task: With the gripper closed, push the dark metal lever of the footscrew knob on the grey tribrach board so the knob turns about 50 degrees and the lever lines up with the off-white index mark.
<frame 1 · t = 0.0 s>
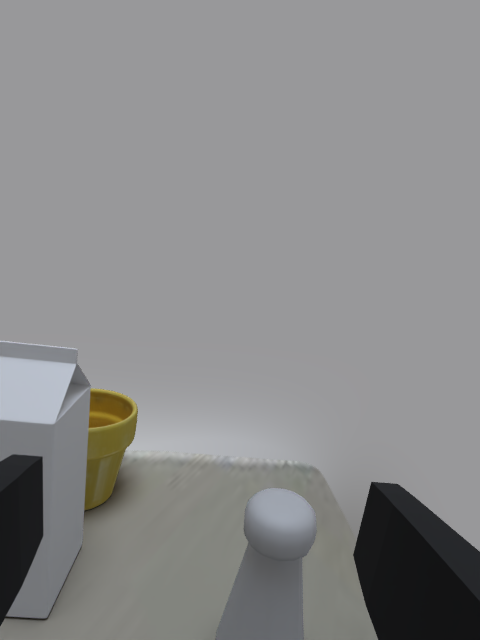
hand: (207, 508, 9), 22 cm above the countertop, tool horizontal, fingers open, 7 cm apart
milk carton: (21, 578, 31), on the countertop
plant pot: (81, 493, 42), on the countertop
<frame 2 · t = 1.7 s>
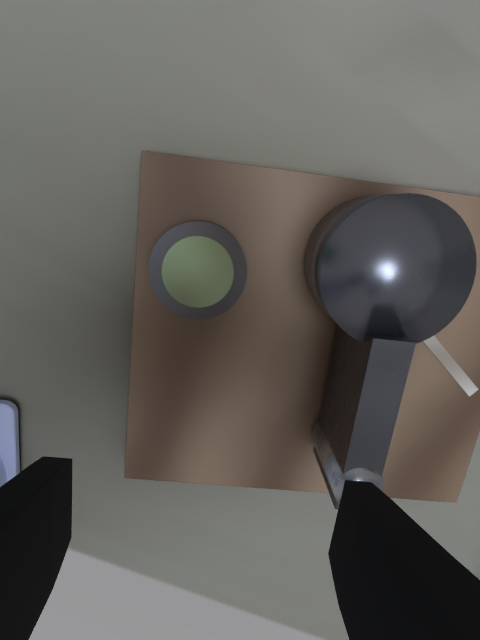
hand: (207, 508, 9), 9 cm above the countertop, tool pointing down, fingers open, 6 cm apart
tribrach board: (316, 344, 18), on the countertop
footscrew knob: (367, 350, 15), point 3 cm above the countertop, hinge at 0.0°
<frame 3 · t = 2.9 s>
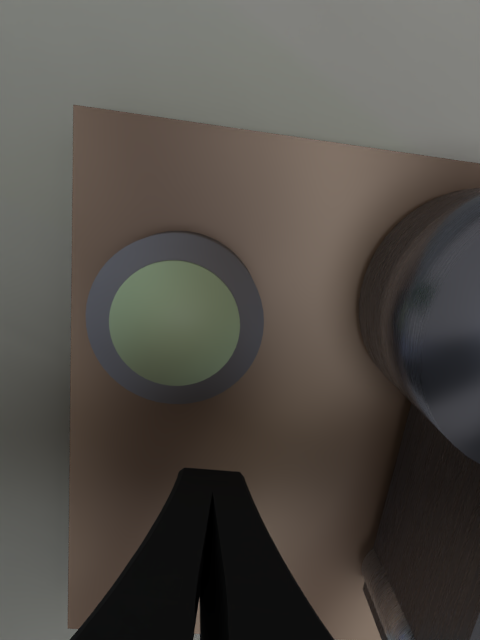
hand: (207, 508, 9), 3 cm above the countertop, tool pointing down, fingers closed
tribrach board: (367, 422, 11), on the countertop
footscrew knob: (478, 461, 8), point 3 cm above the countertop, hinge at 0.0°
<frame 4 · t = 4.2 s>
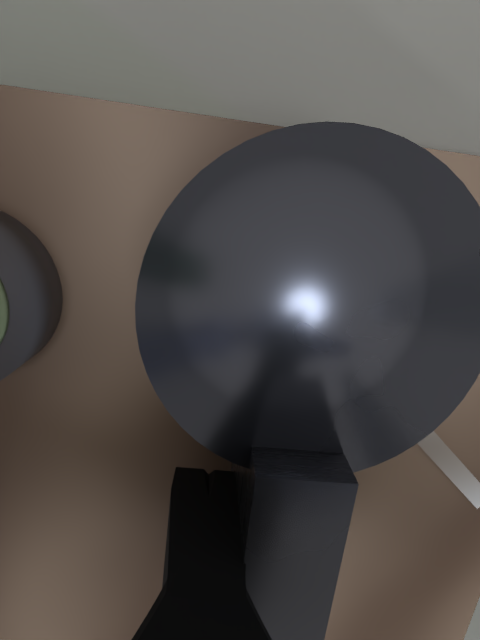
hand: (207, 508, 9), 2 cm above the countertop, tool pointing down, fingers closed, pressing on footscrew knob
tribrach board: (218, 416, 11), on the countertop
footscrew knob: (279, 460, 7), point 3 cm above the countertop, hinge at 1.1°, touching gripper
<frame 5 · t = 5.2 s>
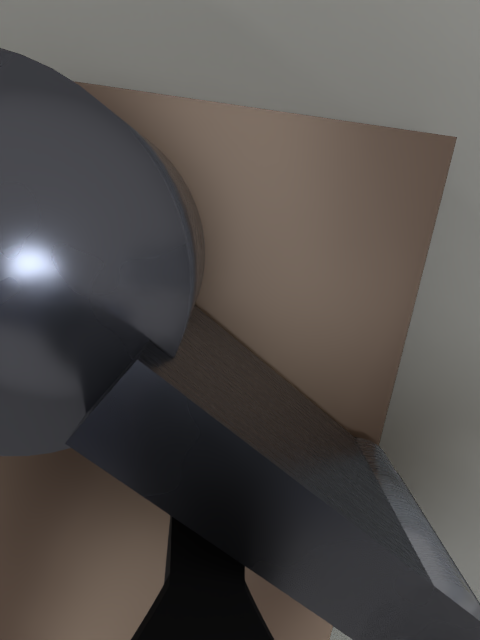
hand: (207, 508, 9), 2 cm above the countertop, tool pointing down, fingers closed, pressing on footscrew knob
tribrach board: (53, 399, 10), on the countertop
footscrew knob: (185, 384, 6), point 3 cm above the countertop, hinge at 55.8°, touching gripper
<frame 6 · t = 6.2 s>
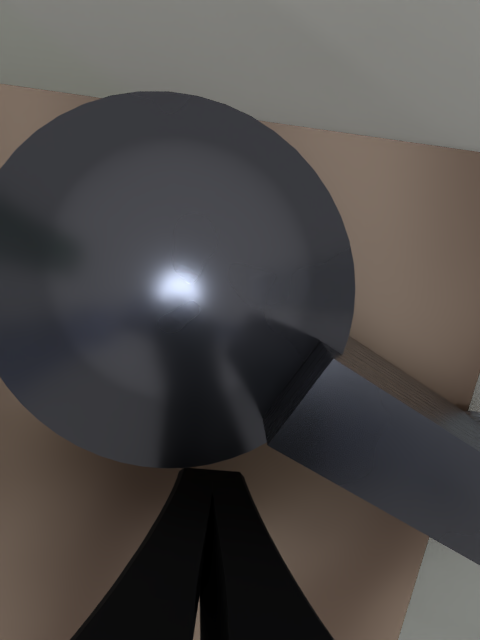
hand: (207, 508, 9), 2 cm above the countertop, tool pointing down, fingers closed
tribrach board: (139, 410, 10), on the countertop
footscrew knob: (326, 380, 7), point 3 cm above the countertop, hinge at 63.5°
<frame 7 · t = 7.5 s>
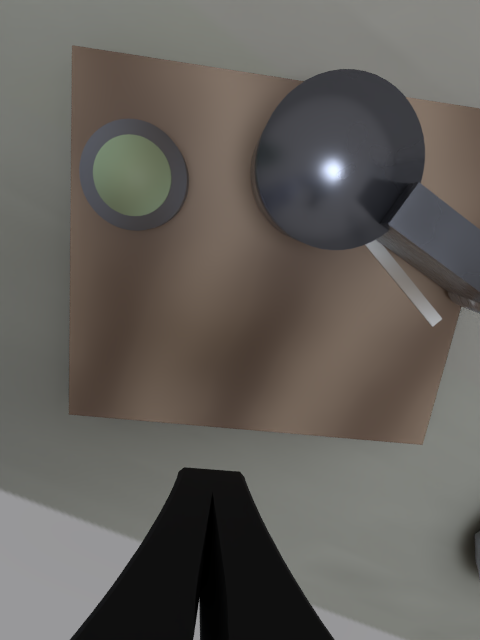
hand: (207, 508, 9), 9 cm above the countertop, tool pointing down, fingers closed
tribrach board: (271, 272, 17), on the countertop
footscrew knob: (401, 221, 13), point 3 cm above the countertop, hinge at 63.6°
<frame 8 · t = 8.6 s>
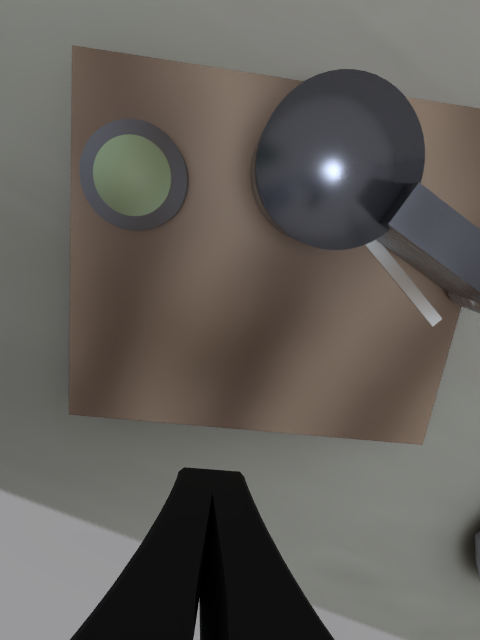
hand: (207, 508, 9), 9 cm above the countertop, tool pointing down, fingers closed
tribrach board: (271, 272, 17), on the countertop
footscrew knob: (401, 221, 13), point 3 cm above the countertop, hinge at 63.6°
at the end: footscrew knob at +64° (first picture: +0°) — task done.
